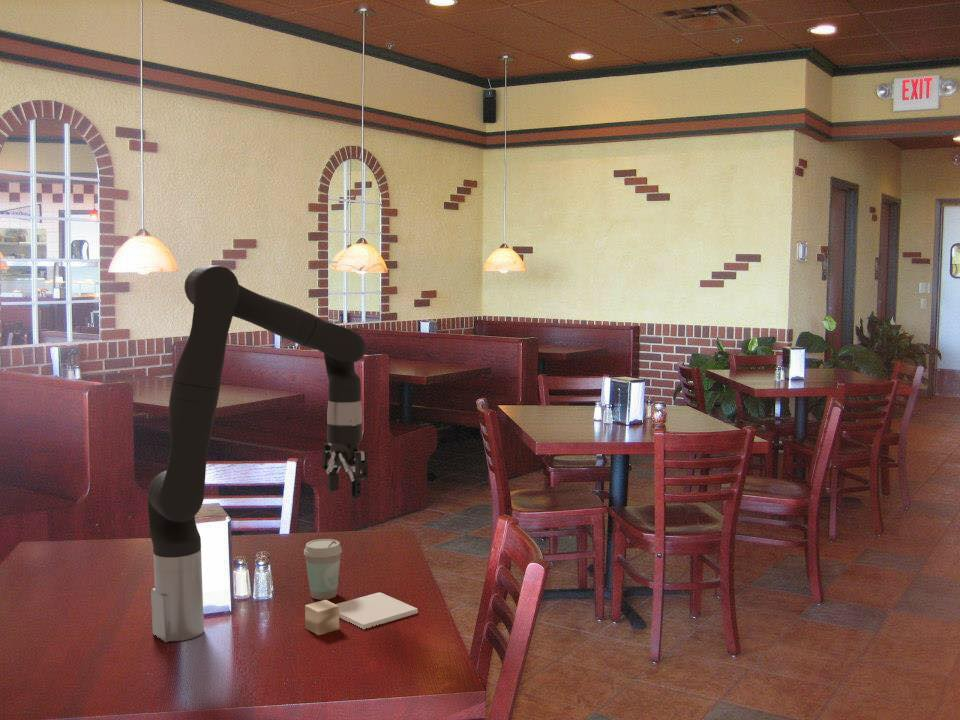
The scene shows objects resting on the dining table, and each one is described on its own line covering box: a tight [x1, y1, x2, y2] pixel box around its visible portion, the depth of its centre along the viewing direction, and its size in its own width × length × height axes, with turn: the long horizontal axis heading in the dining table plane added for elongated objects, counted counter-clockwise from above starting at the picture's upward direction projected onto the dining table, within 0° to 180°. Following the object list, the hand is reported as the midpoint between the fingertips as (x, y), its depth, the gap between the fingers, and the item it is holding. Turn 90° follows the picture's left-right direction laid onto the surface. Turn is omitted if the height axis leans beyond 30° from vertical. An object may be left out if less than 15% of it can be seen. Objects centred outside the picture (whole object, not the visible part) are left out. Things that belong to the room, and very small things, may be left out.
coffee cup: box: [303, 538, 343, 601], centre depth 222 cm, size 9×9×12 cm
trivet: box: [336, 592, 418, 630], centre depth 212 cm, size 14×14×1 cm
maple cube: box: [304, 599, 340, 636], centre depth 202 cm, size 5×5×5 cm
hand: (344, 494), depth 217 cm, fingers open, 8 cm apart
